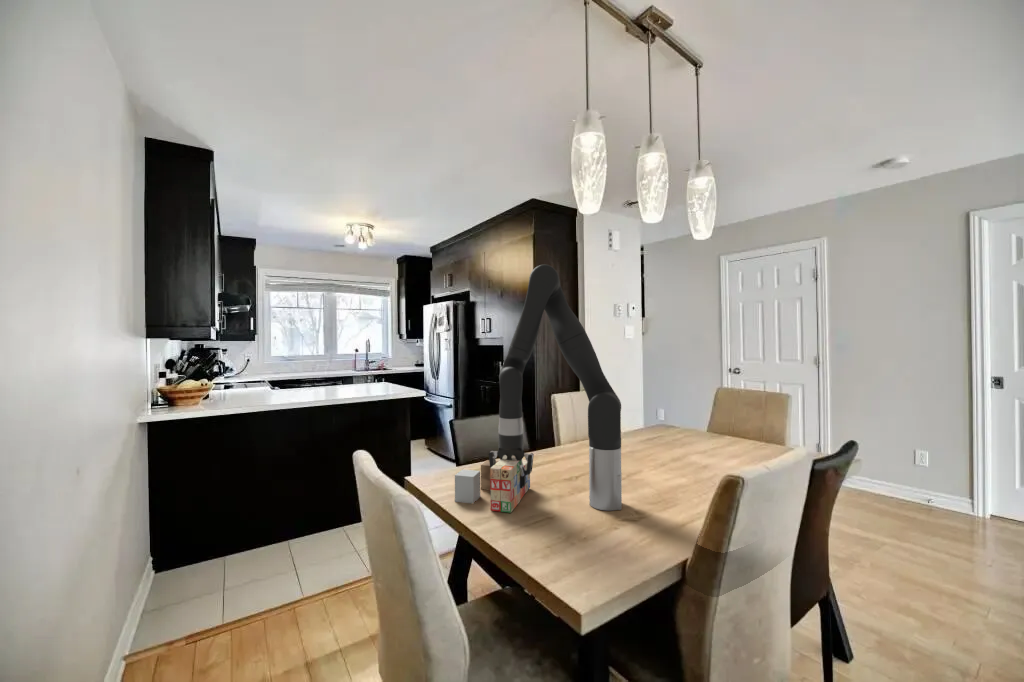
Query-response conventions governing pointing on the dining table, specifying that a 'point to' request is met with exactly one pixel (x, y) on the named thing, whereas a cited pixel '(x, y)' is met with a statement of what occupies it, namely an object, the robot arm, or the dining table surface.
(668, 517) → the dining table surface
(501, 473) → the stack of blocks
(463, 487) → the grey rectangular block
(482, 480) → the brown wooden block
